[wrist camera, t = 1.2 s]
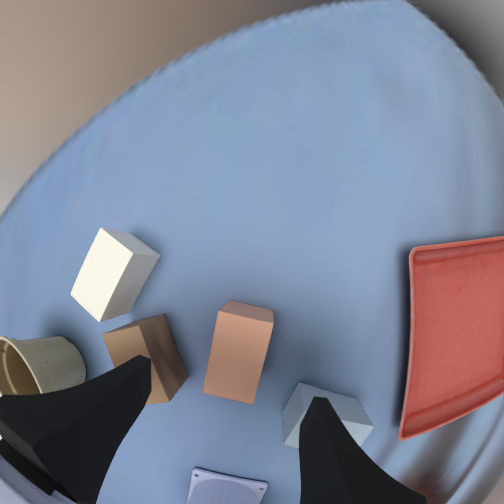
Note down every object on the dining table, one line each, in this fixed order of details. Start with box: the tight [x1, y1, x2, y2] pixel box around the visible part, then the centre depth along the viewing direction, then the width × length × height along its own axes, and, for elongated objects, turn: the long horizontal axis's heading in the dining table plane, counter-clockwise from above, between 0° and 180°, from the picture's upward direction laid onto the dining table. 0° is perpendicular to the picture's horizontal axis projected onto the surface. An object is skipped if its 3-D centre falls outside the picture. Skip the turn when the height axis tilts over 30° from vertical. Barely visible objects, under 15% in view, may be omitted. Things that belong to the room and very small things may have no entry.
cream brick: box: [71, 228, 161, 322], centre depth 20 cm, size 6×4×5 cm, turn 148°
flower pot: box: [0, 336, 86, 396], centre depth 18 cm, size 9×9×9 cm
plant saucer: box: [398, 236, 504, 441], centre depth 18 cm, size 18×18×3 cm
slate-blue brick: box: [282, 382, 374, 448], centre depth 18 cm, size 6×4×5 cm, turn 68°
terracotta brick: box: [203, 300, 274, 404], centre depth 19 cm, size 6×4×5 cm, turn 168°
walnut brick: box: [102, 314, 188, 404], centre depth 19 cm, size 6×4×5 cm, turn 18°
